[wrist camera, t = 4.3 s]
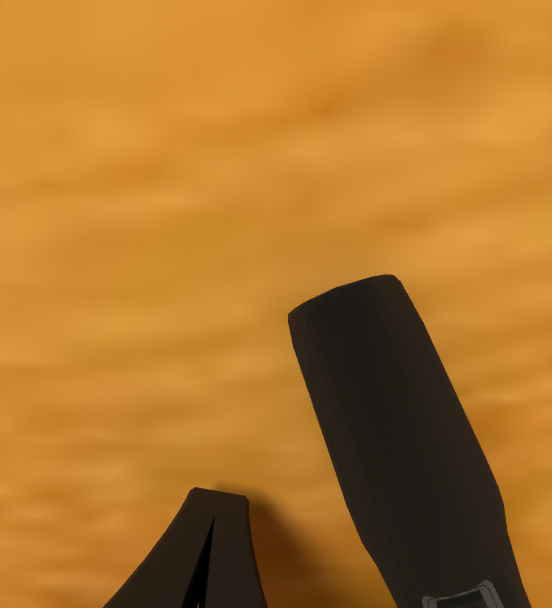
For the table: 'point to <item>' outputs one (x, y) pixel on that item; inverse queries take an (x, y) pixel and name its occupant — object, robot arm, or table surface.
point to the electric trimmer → (404, 449)
